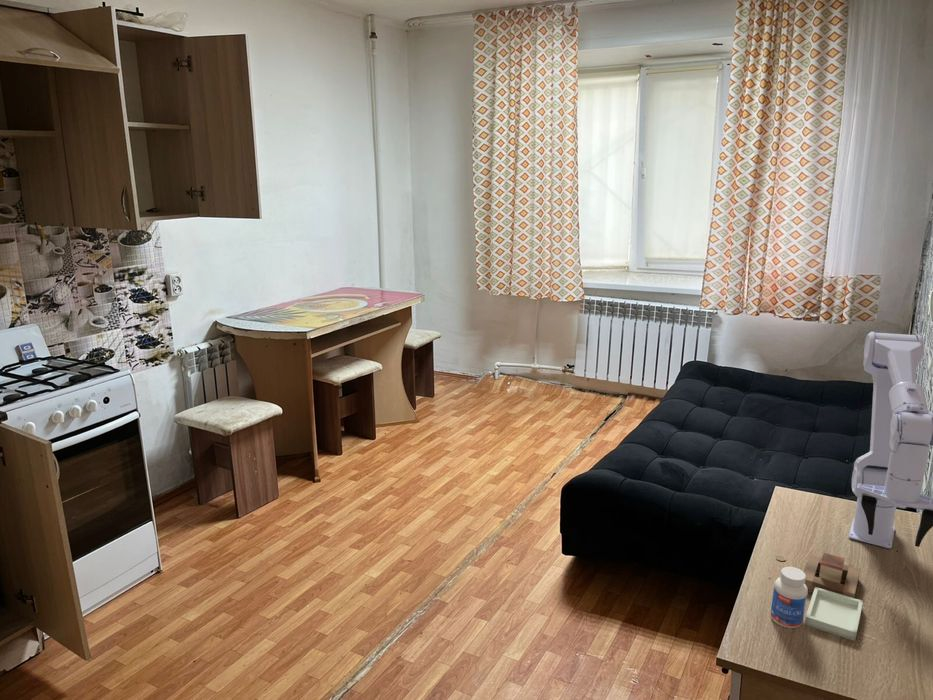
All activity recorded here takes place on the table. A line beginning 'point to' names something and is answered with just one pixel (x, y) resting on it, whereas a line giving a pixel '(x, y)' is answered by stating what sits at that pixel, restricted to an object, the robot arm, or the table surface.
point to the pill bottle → (789, 598)
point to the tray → (834, 613)
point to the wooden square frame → (848, 576)
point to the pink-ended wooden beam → (831, 568)
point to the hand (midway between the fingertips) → (893, 538)
